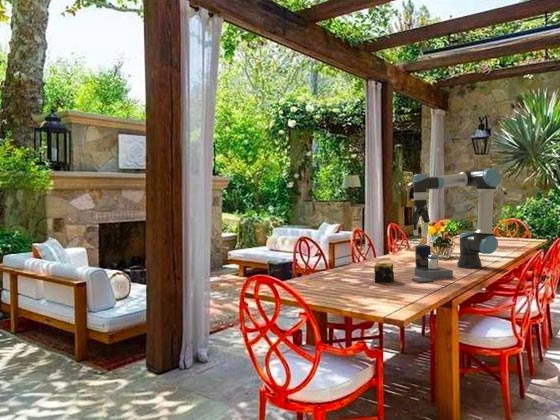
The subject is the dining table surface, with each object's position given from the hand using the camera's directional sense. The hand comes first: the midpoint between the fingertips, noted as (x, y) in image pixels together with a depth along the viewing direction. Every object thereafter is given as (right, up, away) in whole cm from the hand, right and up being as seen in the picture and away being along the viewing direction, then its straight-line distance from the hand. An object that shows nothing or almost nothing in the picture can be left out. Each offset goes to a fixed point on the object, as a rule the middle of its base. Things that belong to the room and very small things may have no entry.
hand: (421, 234), depth 292 cm
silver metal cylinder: (+7, -25, -2) cm, 26 cm away
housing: (+7, -25, -2) cm, 26 cm away
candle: (-25, -27, -12) cm, 39 cm away
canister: (+5, -25, +13) cm, 28 cm away
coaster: (-4, -26, -15) cm, 30 cm away
